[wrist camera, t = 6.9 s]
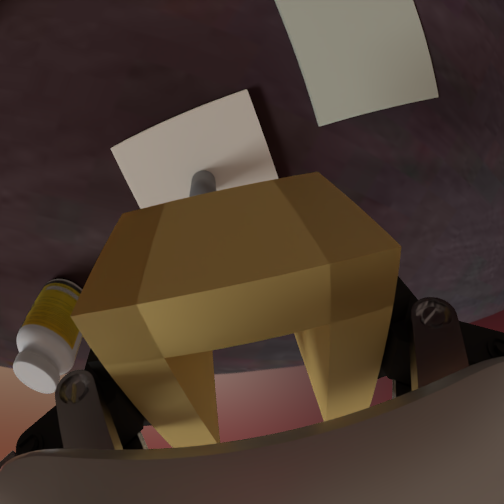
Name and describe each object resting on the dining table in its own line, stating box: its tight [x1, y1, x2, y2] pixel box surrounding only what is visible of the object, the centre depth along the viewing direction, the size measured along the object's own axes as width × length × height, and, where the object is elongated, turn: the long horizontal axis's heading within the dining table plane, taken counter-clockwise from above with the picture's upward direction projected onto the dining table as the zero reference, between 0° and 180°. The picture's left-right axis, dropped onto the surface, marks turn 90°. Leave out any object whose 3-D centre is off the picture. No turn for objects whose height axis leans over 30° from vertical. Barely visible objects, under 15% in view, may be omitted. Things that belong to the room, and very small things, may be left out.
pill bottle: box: [13, 279, 83, 394], centre depth 25 cm, size 6×6×12 cm
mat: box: [274, 0, 439, 126], centre depth 21 cm, size 14×14×1 cm
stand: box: [111, 89, 278, 209], centre depth 23 cm, size 12×12×6 cm
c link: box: [70, 172, 401, 448], centre depth 9 cm, size 6×6×5 cm
